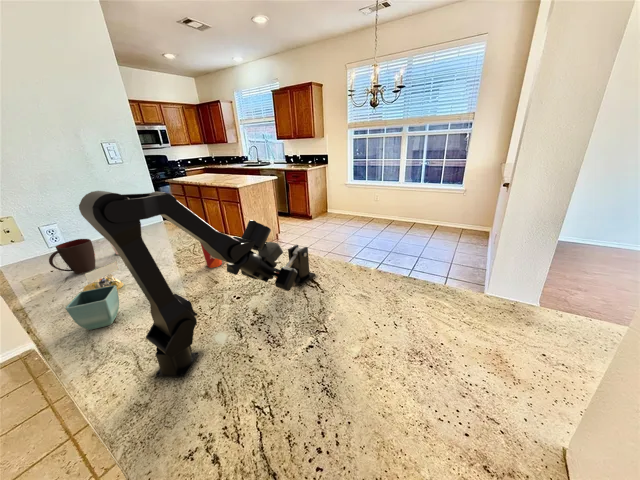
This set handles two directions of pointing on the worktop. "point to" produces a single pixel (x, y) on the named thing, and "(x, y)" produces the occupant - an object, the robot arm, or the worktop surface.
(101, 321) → the flower pot
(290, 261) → the tap lever
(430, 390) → the worktop surface
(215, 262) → the paper cup
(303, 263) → the tap bracket
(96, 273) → the cake
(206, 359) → the worktop surface
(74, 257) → the mug
